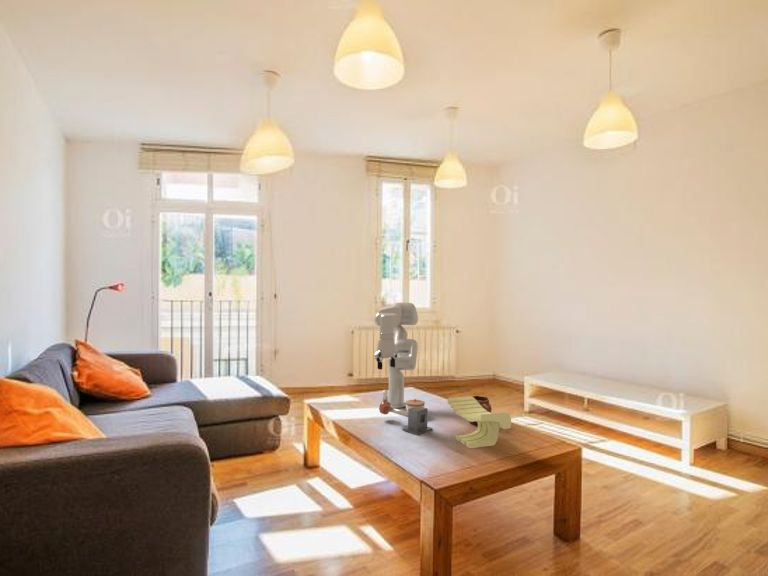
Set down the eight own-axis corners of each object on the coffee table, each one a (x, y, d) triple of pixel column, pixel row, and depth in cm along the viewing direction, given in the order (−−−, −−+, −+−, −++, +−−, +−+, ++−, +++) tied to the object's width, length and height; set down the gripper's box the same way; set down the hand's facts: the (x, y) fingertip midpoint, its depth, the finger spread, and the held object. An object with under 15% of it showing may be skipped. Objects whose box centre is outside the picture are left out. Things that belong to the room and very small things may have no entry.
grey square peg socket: (402, 430, 229) (402, 408, 229) (418, 425, 237) (418, 404, 237) (417, 435, 222) (417, 413, 222) (432, 430, 230) (433, 408, 230)
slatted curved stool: (510, 450, 203) (511, 411, 203) (480, 455, 197) (480, 414, 197) (474, 430, 231) (475, 395, 231) (447, 433, 226) (447, 398, 225)
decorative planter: (499, 428, 234) (500, 401, 234) (479, 430, 230) (479, 403, 230) (479, 417, 253) (479, 392, 253) (460, 419, 249) (460, 394, 249)
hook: (378, 414, 245) (379, 391, 245) (388, 412, 250) (388, 389, 250) (405, 423, 231) (405, 398, 231) (414, 420, 236) (414, 395, 236)
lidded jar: (421, 419, 248) (422, 402, 248) (403, 417, 252) (403, 400, 252) (426, 414, 258) (426, 397, 258) (408, 412, 262) (408, 396, 262)
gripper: (393, 335, 255) (392, 365, 256) (370, 337, 243) (370, 368, 244) (402, 336, 250) (402, 367, 250) (379, 338, 238) (379, 371, 238)
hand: (386, 368), depth 247 cm, fingers open, 9 cm apart
